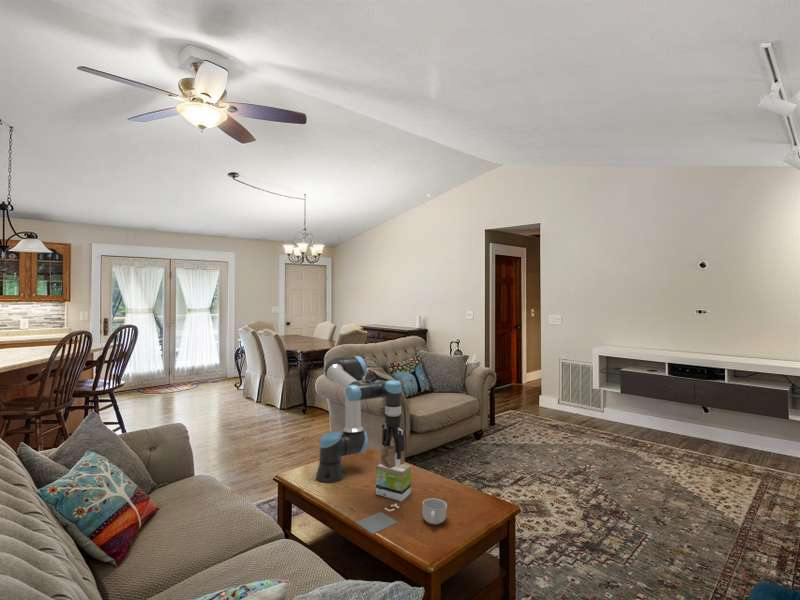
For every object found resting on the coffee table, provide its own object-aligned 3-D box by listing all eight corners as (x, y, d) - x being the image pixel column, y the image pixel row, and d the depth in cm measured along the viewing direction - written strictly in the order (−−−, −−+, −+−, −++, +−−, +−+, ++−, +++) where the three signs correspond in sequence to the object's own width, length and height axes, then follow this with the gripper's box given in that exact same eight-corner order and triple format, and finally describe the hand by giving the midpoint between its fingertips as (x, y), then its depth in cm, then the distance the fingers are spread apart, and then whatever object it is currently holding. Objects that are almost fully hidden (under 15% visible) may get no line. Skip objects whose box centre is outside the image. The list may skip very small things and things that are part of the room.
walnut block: (381, 464, 203) (381, 447, 203) (395, 459, 209) (396, 443, 209) (389, 468, 199) (389, 450, 199) (404, 463, 205) (404, 446, 205)
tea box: (375, 495, 217) (375, 465, 217) (385, 487, 226) (385, 459, 225) (402, 502, 210) (402, 471, 210) (411, 493, 219) (411, 464, 218)
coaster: (355, 522, 191) (355, 522, 190) (380, 512, 200) (380, 511, 200) (372, 534, 181) (372, 533, 181) (398, 523, 191) (398, 522, 191)
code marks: (384, 508, 204) (384, 508, 204) (396, 503, 208) (396, 503, 208) (389, 511, 200) (389, 511, 200) (401, 506, 205) (401, 506, 205)
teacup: (426, 513, 199) (426, 495, 199) (449, 517, 196) (449, 500, 195) (416, 528, 186) (416, 509, 186) (441, 533, 183) (441, 514, 182)
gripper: (374, 411, 208) (374, 459, 209) (400, 420, 194) (400, 472, 194) (386, 408, 213) (386, 455, 214) (412, 417, 199) (412, 467, 199)
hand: (392, 463), depth 204 cm, fingers closed on walnut block, 6 cm apart
